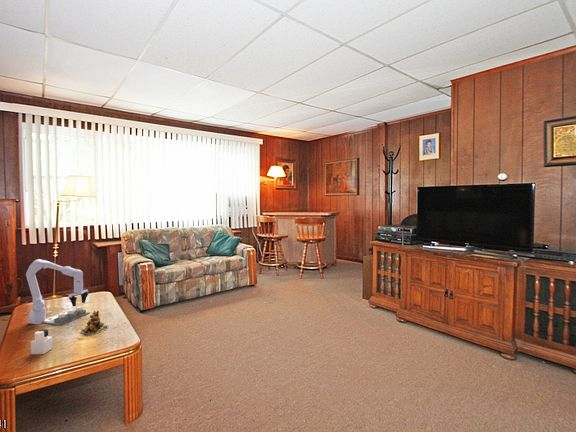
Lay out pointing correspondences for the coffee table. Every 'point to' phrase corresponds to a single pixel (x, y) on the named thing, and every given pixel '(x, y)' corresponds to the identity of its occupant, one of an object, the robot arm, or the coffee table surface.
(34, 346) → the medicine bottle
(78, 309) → the button
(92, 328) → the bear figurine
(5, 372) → the coffee table surface
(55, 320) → the console
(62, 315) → the button
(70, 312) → the button middle
